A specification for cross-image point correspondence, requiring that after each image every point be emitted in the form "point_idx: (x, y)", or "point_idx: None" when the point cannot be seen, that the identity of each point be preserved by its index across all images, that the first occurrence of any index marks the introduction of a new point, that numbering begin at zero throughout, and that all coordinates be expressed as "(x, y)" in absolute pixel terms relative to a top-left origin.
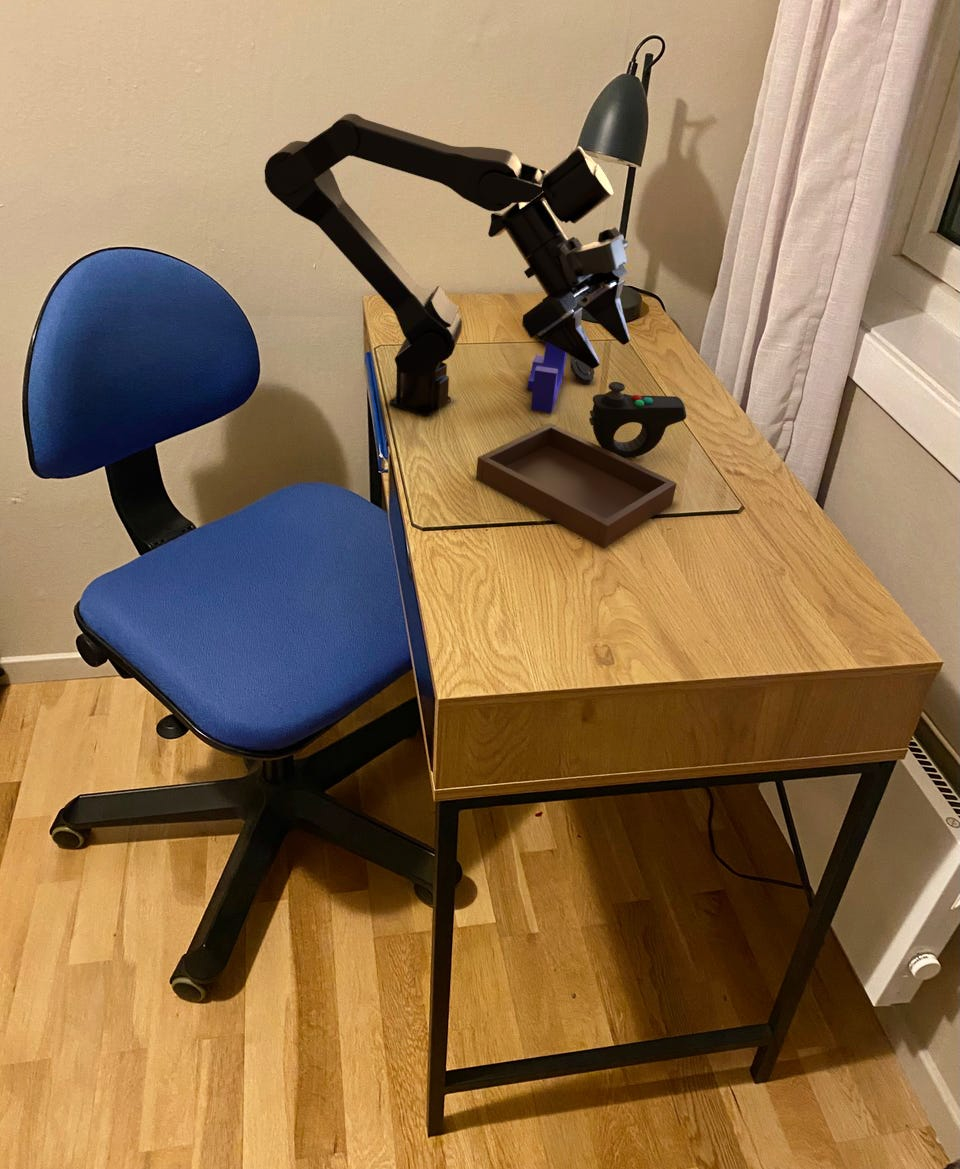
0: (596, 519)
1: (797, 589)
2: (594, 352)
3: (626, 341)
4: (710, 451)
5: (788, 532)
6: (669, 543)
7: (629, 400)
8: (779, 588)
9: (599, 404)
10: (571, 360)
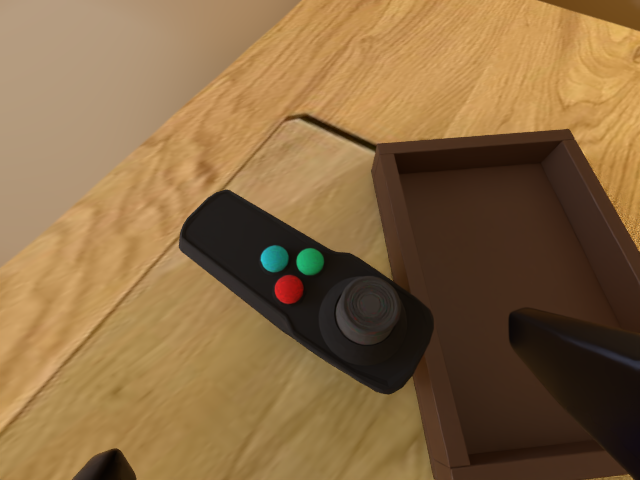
0: (578, 146)
1: (378, 21)
2: (583, 336)
3: (122, 463)
4: (167, 234)
5: (291, 66)
6: (446, 122)
7: (315, 295)
8: (394, 28)
9: (421, 331)
10: None
